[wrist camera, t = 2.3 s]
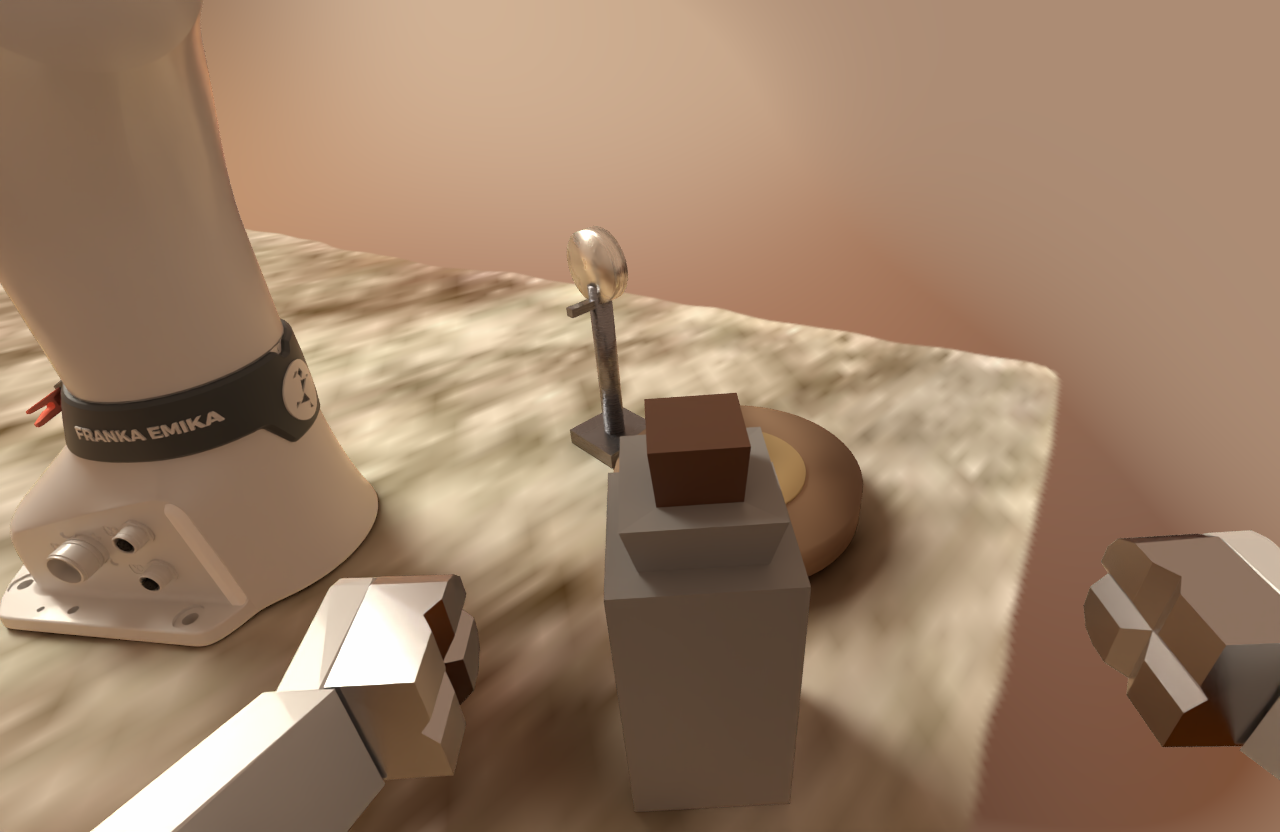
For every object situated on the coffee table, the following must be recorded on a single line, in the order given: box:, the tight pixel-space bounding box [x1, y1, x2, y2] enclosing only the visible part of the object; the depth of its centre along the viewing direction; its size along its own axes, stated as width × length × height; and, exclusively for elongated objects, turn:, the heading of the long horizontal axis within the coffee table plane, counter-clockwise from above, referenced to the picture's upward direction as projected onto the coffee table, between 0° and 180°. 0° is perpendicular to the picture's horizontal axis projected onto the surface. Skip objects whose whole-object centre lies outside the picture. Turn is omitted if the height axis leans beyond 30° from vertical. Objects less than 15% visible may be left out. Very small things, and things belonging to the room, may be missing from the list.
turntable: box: [614, 406, 863, 577], centre depth 44 cm, size 16×16×3 cm
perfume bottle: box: [604, 393, 811, 812], centre depth 27 cm, size 7×7×18 cm
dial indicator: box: [566, 226, 646, 468], centre depth 48 cm, size 5×5×17 cm
